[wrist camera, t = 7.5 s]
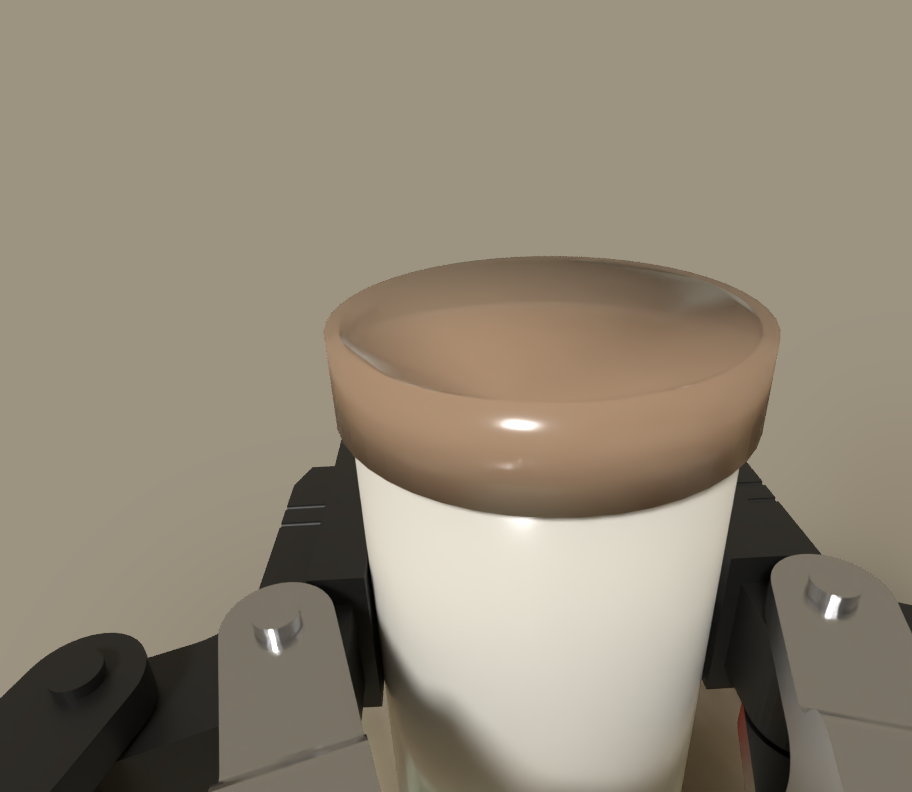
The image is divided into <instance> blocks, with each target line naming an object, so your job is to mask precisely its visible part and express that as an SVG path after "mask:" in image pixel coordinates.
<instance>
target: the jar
mask: <svg viewBox="0 0 912 792" xmlns="http://www.w3.org/2000/svg"><path fill="white" fill-rule="evenodd" d="M324 338H325V345H326V352H327V359H328V366H329V372H330V379H331V387H332V394H333V400H334V408H335V414H336V422H337V428H338V431H339V434H340V436H341V438H342V441H343V443H344V444H345V445H346V447H347V448H348V449H349V451H350V452H351V453H352V455H353V456H354V457H355V461H356V469H357V476H358V484H359V491H360V499H361V506H362V514H363V522H364V529H365V537H366V544H367V551H368V558H369V565H370V573H371V580H372V588H373V596H374V603H375V611H376V618H377V626H378V633H379V641H380V649H381V656H382V664H383V671H384V680H385V688H386V695H387V703H388V711H389V718H390V726H391V733H392V741H393V748H394V756H395V764H396V771H397V779H398V786H399V792H681V789H682V784H683V778H684V772H685V767H686V761H687V756H688V750H689V745H690V739H691V733H692V728H693V722H694V717H695V711H696V706H697V700H698V694H699V689H700V683H701V678H702V672H703V667H704V661H705V656H706V650H707V644H708V639H709V633H710V628H711V622H712V617H713V611H714V605H715V600H716V594H717V589H718V583H719V578H720V572H721V566H722V561H723V555H724V550H725V544H726V539H727V533H728V527H729V522H730V516H731V511H732V505H733V500H734V494H735V489H736V483H737V477H738V472H739V468H740V467H741V466H742V465H744V464H745V463H746V462H747V460H748V459H749V458H750V456H751V455H752V454H753V452H754V451H755V450H756V448H757V446H758V443H759V441H760V438H761V436H762V432H763V427H764V421H765V416H766V411H767V406H768V401H769V395H770V390H771V384H772V380H773V374H774V369H775V364H776V359H777V354H778V349H779V344H780V327H779V325H778V323H777V320H776V318H775V317H774V316H773V314H772V313H771V312H770V311H769V309H767V308H766V307H765V306H764V305H762V304H761V303H760V302H759V301H758V300H756V299H755V298H753V297H751V296H749V295H748V294H746V293H744V292H743V291H741V290H738V289H736V288H734V287H732V286H729V285H727V284H725V283H722V282H719V281H716V280H714V279H711V278H708V277H704V276H701V275H697V274H694V273H691V272H687V271H682V270H678V269H674V268H669V267H663V266H658V265H653V264H647V263H640V262H633V261H625V260H615V259H605V258H590V257H567V256H534V257H511V258H496V259H487V260H476V261H469V262H462V263H455V264H449V265H444V266H438V267H433V268H428V269H424V270H419V271H415V272H411V273H408V274H405V275H401V276H397V277H394V278H391V279H389V280H386V281H383V282H380V283H378V284H376V285H373V286H371V287H368V288H366V289H364V290H362V291H360V292H359V293H357V294H355V295H353V296H352V297H350V298H349V299H347V300H346V301H345V302H343V303H342V304H340V305H339V306H338V307H337V309H335V310H334V311H333V312H332V314H331V315H330V317H329V318H328V320H327V322H326V325H325V329H324Z"/></svg>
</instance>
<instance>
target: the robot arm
mask: <svg viewBox="0 0 912 792" xmlns="http://www.w3.org/2000/svg"><path fill="white" fill-rule="evenodd" d="M702 680H703V682H704V685H705V687H706V689H718V688H735V689H736V691H737V693H738V695H739V698H740V700H741V702H742V705H741V709H740V714H739V718H738V735H739V743H740V751H741V759H742V767H743V775H744V783H745V791H746V792H912V605H908V604H903V603H898V602H897V600H896V598H895V597H894V595H893V593H892V592H891V591H890V590H889V588H888V587H887V586H886V585H885V584H884V583H882V582H881V581H880V580H879V579H878V578H876V577H875V576H874V575H872V574H871V573H869V572H867V571H866V570H864V569H862V568H861V567H858V566H856V565H854V564H852V563H849V562H846V561H844V560H841V559H838V558H834V557H830V556H824V555H821V553H820V552H819V551H818V550H817V548H816V547H815V546H814V545H813V543H812V542H811V541H810V540H809V538H808V537H807V536H806V535H805V534H804V532H803V531H802V530H801V529H800V528H799V526H798V525H797V524H796V523H795V521H794V520H793V519H792V518H791V516H790V515H789V514H788V513H787V511H786V510H785V509H784V508H783V506H782V505H781V504H780V503H779V502H776V501H775V496H774V495H773V494H772V493H771V492H770V490H769V489H768V488H767V487H766V485H762V481H761V479H760V478H759V477H758V476H757V474H756V473H755V472H754V471H753V469H751V467H750V466H749V464H748V463H747V462H746V463H745V464H744V465H742V466H741V467H740V468H739V472H738V477H737V483H736V489H735V494H734V500H733V505H732V511H731V516H730V522H729V527H728V533H727V539H726V544H725V550H724V555H723V561H722V566H721V572H720V578H719V583H718V589H717V594H716V600H715V605H714V611H713V617H712V622H711V628H710V633H709V639H708V644H707V650H706V656H705V661H704V667H703V672H702ZM383 690H384V671H383V664H382V656H381V649H380V641H379V633H378V626H377V618H376V611H375V603H374V596H373V588H372V580H371V573H370V565H369V558H368V551H367V544H366V537H365V529H364V522H363V514H362V506H361V499H360V491H359V484H358V476H357V469H356V461H355V457H354V456H353V455H352V453H351V452H350V451H349V449H348V448H347V447H346V445H345V444H344V443H343V441H342V440H341V444H340V448H339V452H338V456H337V460H336V464H335V466H330V467H312V469H311V470H309V471H308V472H307V473H306V474H305V475H304V476H303V477H302V479H300V480H299V481H298V482H297V483H296V484H295V486H294V488H293V491H292V494H291V496H290V499H289V502H288V505H287V510H286V511H285V514H284V517H283V520H282V527H281V528H280V529H279V532H278V535H277V538H276V541H275V544H274V547H273V550H272V552H271V555H270V558H269V561H268V564H267V567H266V570H265V573H264V576H263V579H262V582H261V585H260V588H259V590H257V591H255V592H253V593H251V594H250V595H248V596H246V597H245V598H243V599H242V600H241V601H239V602H238V603H237V604H236V605H235V606H234V607H233V608H232V609H231V610H230V611H229V612H228V613H227V615H226V616H225V618H224V620H223V621H222V623H221V626H220V629H219V633H218V634H217V635H215V636H213V637H211V638H208V639H206V640H204V641H201V642H198V643H195V644H192V645H189V646H185V647H182V648H179V649H176V650H172V651H169V652H166V653H163V654H160V655H156V656H153V657H149V658H148V657H147V654H146V652H145V650H144V647H143V646H142V644H141V643H140V642H139V641H138V640H137V639H135V638H133V637H131V636H128V635H125V634H119V633H103V634H96V635H91V636H88V637H84V638H81V639H78V640H76V641H73V642H71V643H68V644H66V645H65V646H62V647H60V648H59V649H57V650H55V651H54V652H52V653H50V654H49V655H47V656H46V657H45V658H43V659H42V660H40V661H39V662H38V663H37V664H36V665H35V666H33V667H32V668H31V669H30V670H29V671H28V672H27V673H26V674H25V675H24V676H23V677H22V678H21V679H20V680H19V681H18V682H17V683H16V684H15V685H14V686H13V687H12V688H10V689H9V690H8V691H7V692H6V693H5V694H4V695H3V697H1V698H0V792H381V790H380V786H379V782H378V778H377V774H376V769H375V765H374V761H373V757H372V753H371V749H370V745H369V742H368V738H367V735H366V734H365V735H364V732H363V728H362V723H361V720H362V711H363V707H379V706H382V702H383Z"/></svg>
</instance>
